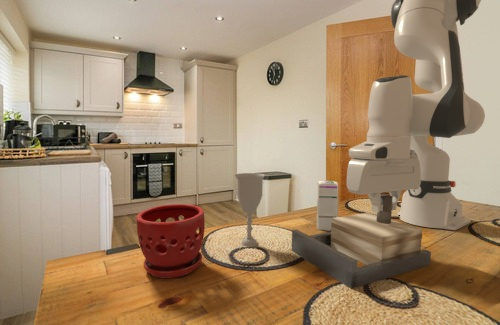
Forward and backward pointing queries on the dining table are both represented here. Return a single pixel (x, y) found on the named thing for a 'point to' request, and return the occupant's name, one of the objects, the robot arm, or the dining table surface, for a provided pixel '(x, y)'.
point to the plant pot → (171, 239)
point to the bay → (352, 261)
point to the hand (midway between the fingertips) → (384, 210)
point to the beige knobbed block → (374, 235)
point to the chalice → (249, 200)
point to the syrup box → (326, 204)
